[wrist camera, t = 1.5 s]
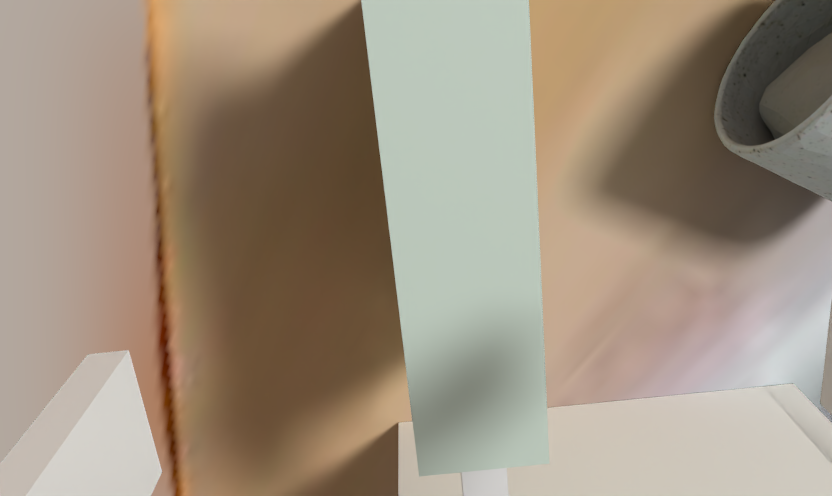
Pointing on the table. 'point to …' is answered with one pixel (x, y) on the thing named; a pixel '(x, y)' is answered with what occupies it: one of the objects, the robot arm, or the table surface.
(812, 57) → the ceramic mug
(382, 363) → the table surface
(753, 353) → the table surface
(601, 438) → the cabinet
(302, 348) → the table surface
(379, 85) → the door
